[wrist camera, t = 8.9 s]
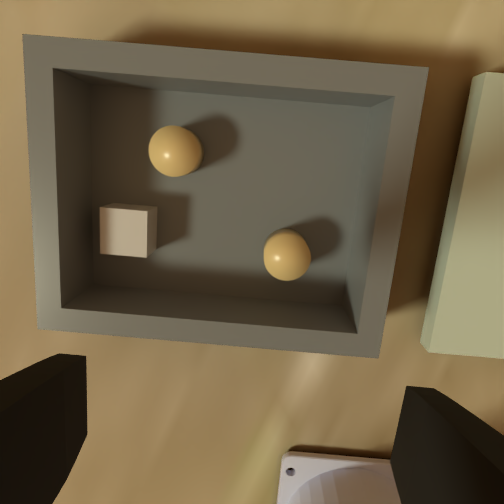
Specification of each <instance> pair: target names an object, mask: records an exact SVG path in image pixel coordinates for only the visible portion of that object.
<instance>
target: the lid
mask: <svg viewBox="0 0 504 504" xmlns="http://www.w3.org/2000/svg"><path fill="white" fill-rule="evenodd" d="M420 343H421V344H422V345H423V346H424V348H425V349H426V350H427V351H428V352H431V353H443V354H455V355H466V356H478V357H490V358H502V359H504V73H494V72H485V73H482V74H479V75H477V76H474V77H473V78H472V83H471V88H470V93H469V98H468V103H467V108H466V113H465V118H464V124H463V129H462V134H461V139H460V144H459V149H458V154H457V159H456V164H455V169H454V174H453V179H452V184H451V189H450V194H449V199H448V204H447V209H446V214H445V219H444V224H443V229H442V234H441V239H440V244H439V249H438V254H437V259H436V264H435V269H434V274H433V279H432V284H431V289H430V295H429V300H428V305H427V310H426V315H425V320H424V325H423V330H422V335H421V340H420Z"/></svg>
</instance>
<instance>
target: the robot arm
mask: <svg viewBox="0 0 504 504" xmlns="http://www.w3.org/2000/svg"><path fill="white" fill-rule="evenodd" d="M86 436H87V378H86V356H81V355H70V354H56V355H54V356H51V357H49V358H46V359H44V360H42V361H40V362H37V363H35V364H33V365H31V366H29V367H27V368H25V369H23V370H21V371H18V372H16V373H14V374H12V375H10V376H8V377H6V378H4V379H2V380H0V504H52V503H53V502H54V500H55V498H56V497H57V495H58V493H59V492H60V490H61V488H62V487H63V485H64V483H65V481H66V480H67V478H68V476H69V473H70V471H71V469H72V467H73V465H74V463H75V461H76V459H77V456H78V454H79V452H80V450H81V447H82V445H83V443H84V441H85V438H86ZM288 468H294V469H293V470H287V469H288ZM277 504H504V435H502V434H501V433H499V432H498V431H496V430H495V429H494V428H492V427H491V426H489V425H488V424H486V423H485V422H484V421H482V420H481V419H479V418H478V417H477V416H475V415H474V414H472V413H471V412H469V411H468V410H467V409H465V408H464V407H462V406H461V405H459V404H458V403H456V402H455V401H453V400H452V399H450V398H449V397H447V396H446V395H444V394H442V393H441V392H439V391H437V390H436V389H434V388H424V387H413V386H406V390H405V395H404V400H403V404H402V409H401V413H400V418H399V423H398V427H397V432H396V436H395V441H394V446H393V450H392V455H391V459H390V460H387V459H375V458H364V457H352V456H341V455H330V454H318V453H307V452H295V451H289V452H286V453H285V454H284V455H283V457H282V462H281V471H280V479H279V488H278V496H277Z"/></svg>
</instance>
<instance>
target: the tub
mask: <svg viewBox="0 0 504 504" xmlns="http://www.w3.org/2000/svg"><path fill="white" fill-rule="evenodd" d="M22 35H23V54H24V73H25V93H26V112H27V132H28V151H29V171H30V190H31V209H32V229H33V248H34V268H35V287H36V307H37V326H38V329H43V330H55V331H66V332H78V333H89V334H101V335H112V336H124V337H136V338H147V339H159V340H170V341H182V342H194V343H205V344H217V345H228V346H240V347H251V348H263V349H275V350H286V351H298V352H309V353H321V354H333V355H344V356H356V357H367V358H379V353H380V347H381V342H382V336H383V330H384V324H385V319H386V313H387V307H388V301H389V296H390V290H391V284H392V278H393V273H394V267H395V261H396V255H397V249H398V244H399V238H400V232H401V226H402V221H403V215H404V209H405V203H406V198H407V192H408V186H409V180H410V175H411V169H412V163H413V157H414V152H415V146H416V140H417V134H418V128H419V123H420V117H421V111H422V105H423V100H424V94H425V88H426V82H427V77H428V71H429V67H418V66H406V65H394V64H382V63H369V62H357V61H345V60H333V59H321V58H309V57H296V56H284V55H272V54H260V53H248V52H236V51H224V50H211V49H199V48H187V47H175V46H163V45H151V44H138V43H126V42H114V41H102V40H90V39H78V38H65V37H53V36H41V35H29V34H22Z"/></svg>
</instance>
